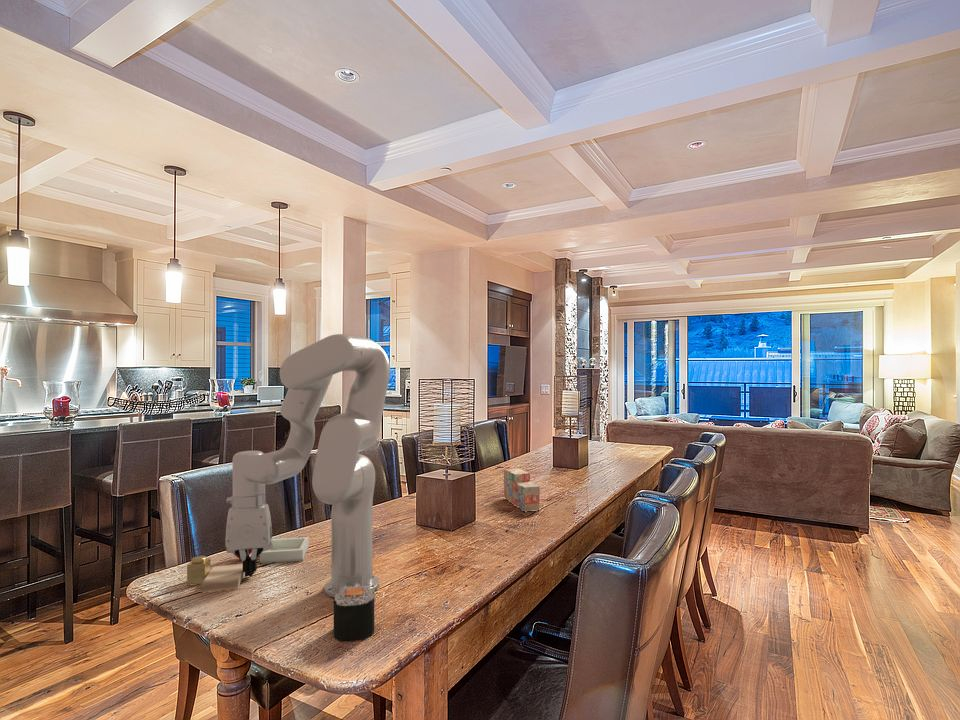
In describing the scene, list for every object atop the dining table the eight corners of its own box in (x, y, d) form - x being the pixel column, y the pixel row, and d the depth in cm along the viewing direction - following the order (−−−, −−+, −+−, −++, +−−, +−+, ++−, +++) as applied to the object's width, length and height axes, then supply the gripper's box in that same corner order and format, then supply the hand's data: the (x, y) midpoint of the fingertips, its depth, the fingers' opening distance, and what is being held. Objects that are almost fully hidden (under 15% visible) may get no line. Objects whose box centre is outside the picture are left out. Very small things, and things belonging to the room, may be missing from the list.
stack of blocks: (540, 511, 188) (539, 477, 189) (524, 513, 187) (523, 478, 187) (518, 497, 209) (518, 467, 209) (503, 499, 207) (503, 468, 207)
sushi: (331, 644, 98) (331, 602, 98) (335, 623, 106) (335, 584, 107) (375, 639, 100) (375, 598, 100) (375, 619, 108) (375, 580, 108)
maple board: (237, 591, 123) (237, 581, 123) (200, 595, 121) (200, 585, 121) (247, 572, 135) (246, 563, 135) (213, 576, 133) (213, 566, 133)
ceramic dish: (302, 561, 141) (302, 549, 141) (259, 563, 139) (259, 552, 139) (308, 547, 152) (308, 537, 152) (269, 549, 150) (269, 539, 150)
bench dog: (204, 584, 126) (204, 560, 126) (187, 585, 125) (187, 561, 125) (210, 577, 130) (210, 554, 130) (193, 579, 129) (193, 555, 129)
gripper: (212, 506, 125) (212, 583, 125) (277, 502, 128) (278, 577, 127) (222, 499, 132) (222, 571, 132) (283, 495, 135) (284, 566, 135)
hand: (249, 574), depth 130 cm, fingers closed
